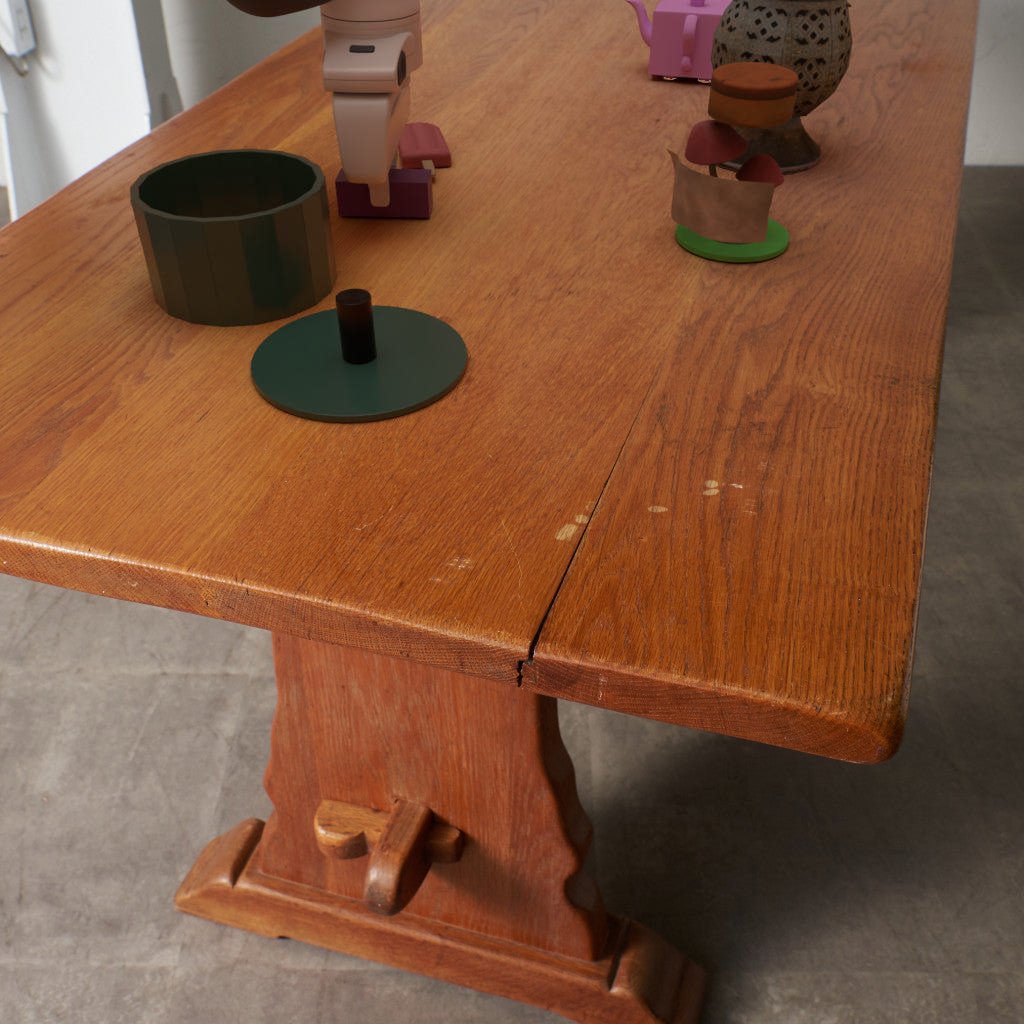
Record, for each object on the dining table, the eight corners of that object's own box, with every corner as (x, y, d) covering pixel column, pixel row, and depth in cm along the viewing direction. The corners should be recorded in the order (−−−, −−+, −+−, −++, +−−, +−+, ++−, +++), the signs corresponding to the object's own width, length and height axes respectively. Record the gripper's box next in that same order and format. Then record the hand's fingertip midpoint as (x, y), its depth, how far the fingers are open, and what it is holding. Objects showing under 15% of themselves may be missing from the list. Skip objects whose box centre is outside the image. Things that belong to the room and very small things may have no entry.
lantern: (727, 123, 121) (760, -120, 105) (844, 145, 115) (897, -109, 99) (679, 159, 112) (706, -102, 96) (803, 185, 106) (854, -88, 90)
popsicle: (405, 170, 105) (393, 122, 117) (406, 185, 106) (394, 136, 118) (456, 166, 106) (439, 120, 117) (456, 181, 107) (439, 133, 118)
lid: (228, 427, 72) (211, 351, 68) (279, 316, 84) (267, 246, 80) (458, 432, 71) (455, 356, 67) (474, 319, 84) (472, 249, 80)
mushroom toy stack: (692, 203, 102) (710, 45, 93) (811, 231, 97) (843, 67, 88) (637, 245, 95) (651, 78, 85) (764, 278, 89) (793, 104, 80)
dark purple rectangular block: (338, 216, 99) (334, 181, 97) (344, 201, 102) (341, 167, 100) (429, 217, 99) (427, 182, 97) (433, 203, 102) (431, 169, 100)
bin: (131, 331, 82) (101, 220, 76) (186, 248, 94) (164, 147, 88) (318, 334, 82) (303, 223, 76) (350, 251, 94) (338, 149, 88)
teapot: (609, 82, 134) (614, -1, 127) (628, 54, 144) (634, -25, 137) (746, 93, 130) (759, 8, 123) (756, 63, 140) (768, -17, 134)
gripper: (356, 15, 99) (368, 155, 108) (317, 77, 83) (335, 236, 92) (420, 16, 99) (427, 156, 108) (393, 78, 83) (404, 237, 92)
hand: (384, 194), depth 100 cm, fingers closed on dark purple rectangular block, 3 cm apart
